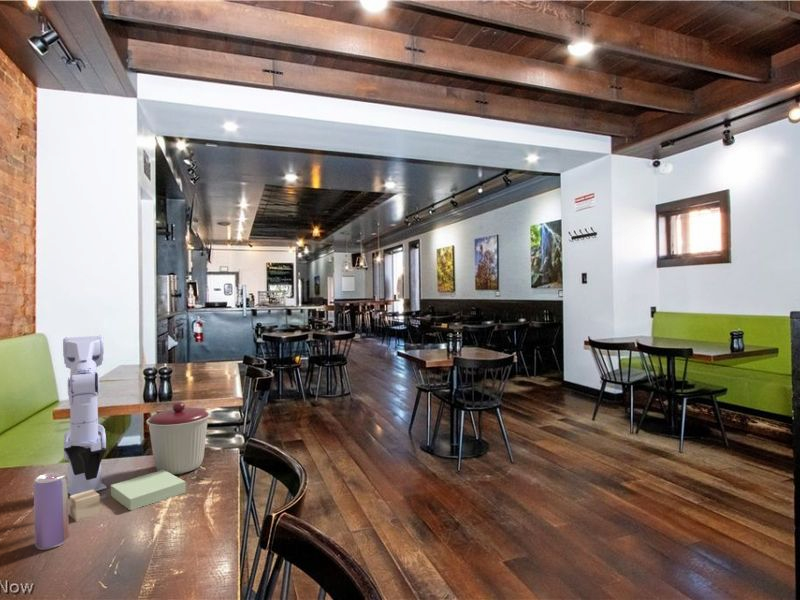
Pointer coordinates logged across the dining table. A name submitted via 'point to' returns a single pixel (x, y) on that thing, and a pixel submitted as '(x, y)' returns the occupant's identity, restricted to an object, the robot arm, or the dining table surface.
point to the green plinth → (147, 489)
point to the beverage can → (51, 510)
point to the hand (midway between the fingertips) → (85, 476)
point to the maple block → (84, 505)
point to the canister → (178, 438)
